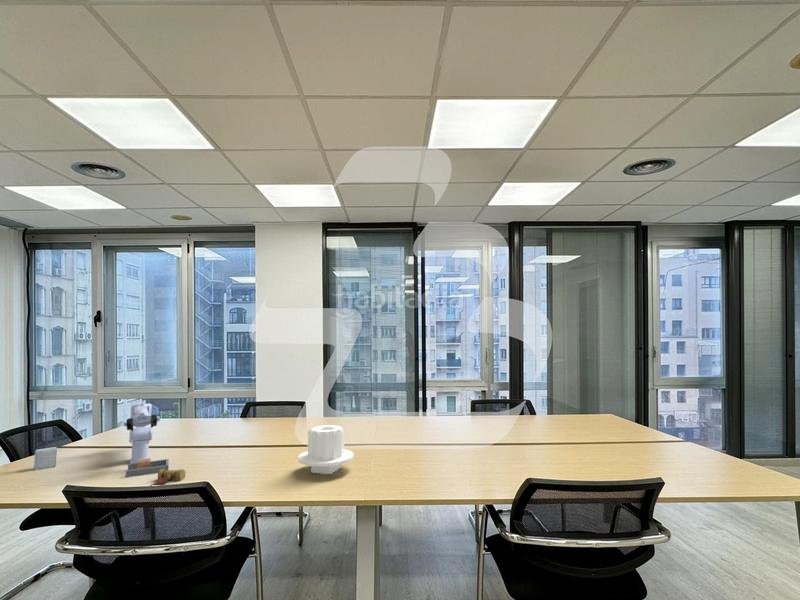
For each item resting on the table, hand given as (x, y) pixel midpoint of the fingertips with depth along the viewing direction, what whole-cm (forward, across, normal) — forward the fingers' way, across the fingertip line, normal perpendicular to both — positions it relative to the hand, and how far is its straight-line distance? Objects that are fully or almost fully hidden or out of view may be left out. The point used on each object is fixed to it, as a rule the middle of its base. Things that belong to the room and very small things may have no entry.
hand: (142, 427), depth 195 cm
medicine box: (-29, -40, +23) cm, 54 cm away
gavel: (+30, +6, +17) cm, 35 cm away
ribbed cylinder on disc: (+48, +72, +17) cm, 88 cm away
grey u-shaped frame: (+3, +2, +20) cm, 20 cm away
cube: (+3, 0, +20) cm, 20 cm away
